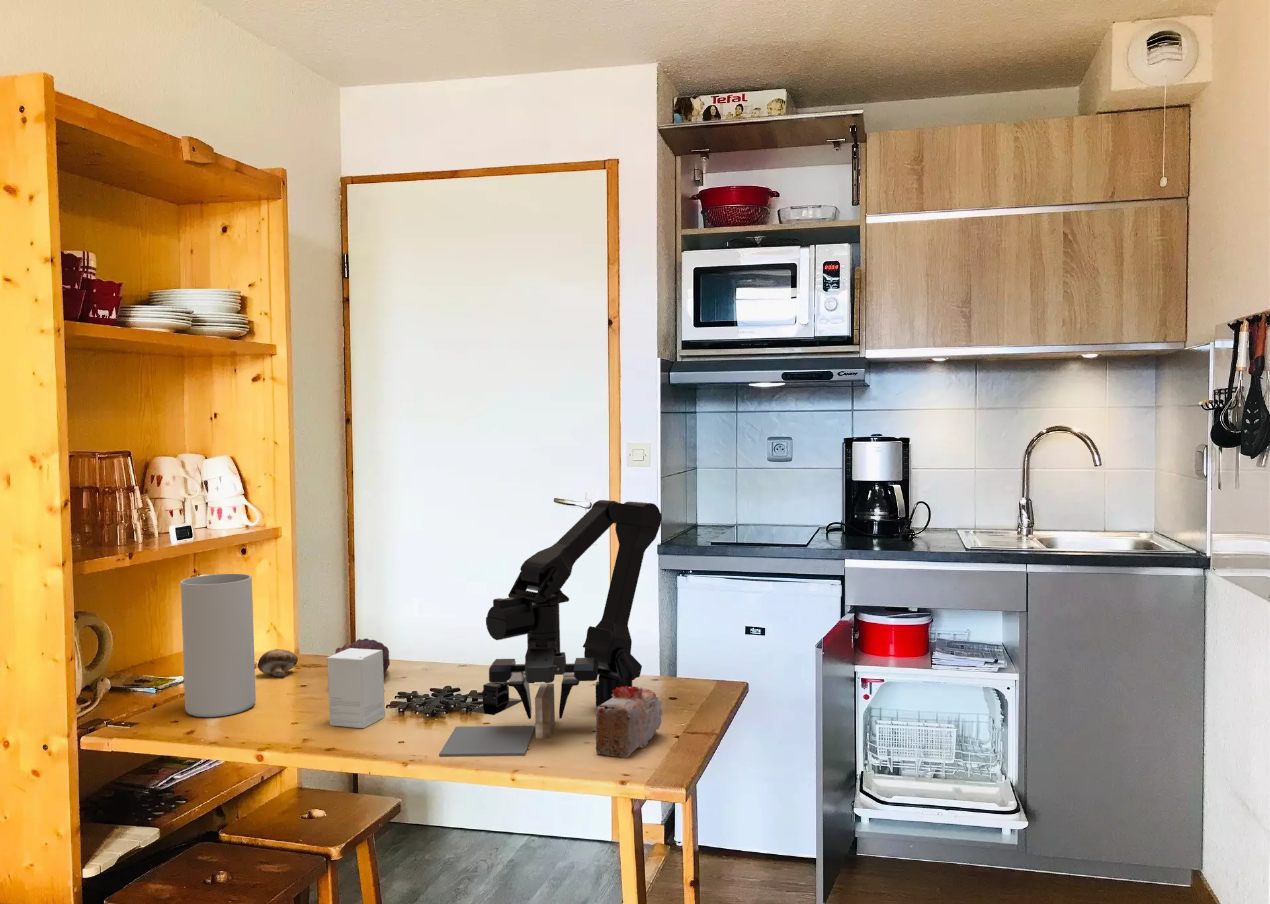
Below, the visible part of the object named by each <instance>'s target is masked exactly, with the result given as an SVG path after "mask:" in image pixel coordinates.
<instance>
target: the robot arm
mask: <svg viewBox="0 0 1270 904" xmlns="http://www.w3.org/2000/svg"><path fill="white" fill-rule="evenodd" d="M662 515H663V514H662V513H661V511H660V509H659V507H658V506H657V505H656V504H655V503H652V502H643V501H642V502H639V501H625V502H624V503H620V502H618V501H616V500H609V499H608V500H606V499H599V500H597V501H595V502H594V503H593V504H592V506H591V508H590V509H589V510H588V511H587V512H586V513H584V515H583V516H582V517H581V518H580V519H579V520H578V521H577V522H576V523H575V524H574V525H573V526H572V527H571V528H570V529H569V530H568V531H567V532H566V533H565V534H564V535H562V537H561V538H559V540H558V541H556V542H555V543H553V545H551V546H549V547H547V548H544V549H542V550H539V551H537V552H536V553H535V554H533V555H531V556H530V557H529V558H526V560H525V561H523V563H522V564H521V566H520V569H519V571H520V572H519V574H518V576H517V578H516V579H515V582H514V584H513V586H512V587H511V589H510V591H509V593H508V595H507V596H508V597H506V598H501V597H499V598H498V597H497V598H494V599H493V600H492V604H493V605H492V606H491V607H490V608H489V610H488V612H487V615H486V618H485V626H486V629H487V632H488V633H489V635H490V637H491V638H492V639H493V640H496V641H501V640H505V639H511V638H515V637H521V636H525V635H527V641H526V642H527V644H526V645H527V648H526V649H527V650H526V652H525V656H524V658H525V660H524V661H525V662H524V663H519V664H517V663H516V658H496V659H494V661H493V662H492V663H491V665H490V667H488V668H489V669H488V683H489V682H508V686H509V687H512V688H514V689H515V691H516V692H517V694H518V696H519V699H521V700H522V702H521V703H522V705H523V708H524V710H525V713H526V716H527V719H528V720H531V719H532V714H533V713H532V711H533V709H532V699H531V690H530V684H534V683H544V684H552V683H553V682H554V681H555V676H557V675H558V676H559V675H560V676H561V675H562V677H563V678H562V680H561V689H560V698H559V708H558V713H559V714H558V716H559V717H558V718H559V719H562V718H563V715H564V711H565V707H566V705H567V701H568V697H569V695H570V694H571V693H570V692H571V691H572V688H573V687H574V686H575V687H577V686H578V685H579V684H580V682H595V681H596V682H595V707H596V708H597V707H598V706H600V705H601V704H603V703H605V702H606V701H608V700H610V699H611V698H612V694H613V693H612V690H614V689H616V687H618V688H619V687H625V686H629V687H634V685H633V684H634V683H633V681H635V680H636V679H638V678H640V676H641V674H642V673H641V672H642V668H643V666H642V664H641V663H640V662H639V660H637V659H636V658H635V656H633V655H632V654H631V653H632V644H633V642H632V641H633V640H632V637H631V633H630V630H629V621H630V616H631V612H632V608H633V602H634V599H635V595H636V589H637V585H638V581H639V577H640V573H641V569H642V563H643V560H644V556H645V551H646V550H647V549H648V548H649V547H650V546H651V544H652V543H653V542H654V541H655V539H656V538H657V535H658V532H659V529H660V527H661V524H662V519H663V518H662ZM613 524H615V534H616V536H617V537H616V538H617V541H618V550H617V553H616V558H615V562H614V567H613V571H612V576H611V579H610V583H609V588H608V592H607V596H606V600H605V605H604V610H603V614H602V617H601V619H600V621H599V622H598V624H596V626H591V625H590V626H588V629H587V631H586V639H585V641H584V644H583V646H582V647H583V649H584V653H583V655H584V657H576V658H575V660H574V663H567V658H566V652H564V651H562V652H561V630H560V629H561V628H560V627H561V626H560V625H561V621H560V620H561V619H560V604H563V603H567V602H569V601H570V598H569V596H568V595H566V594H564V593H563V591H562V588H563V587H564V586H565V584H566V582H567V581H568V579H569V578H570V577H571V575H572V572H573V571H572V570H573V566H574V564H575V563H576V562H577V561H578V559H580V557H582V555H584V553H586V551H588V549H589V548H590V547H591V546H593V544H594V543H595V542H596V541H597V540H599V538H600V537H602V535H603V534H605V533H606V531H607V530H608V529H609V528H610V527H611V526H612V525H613ZM597 680H598V681H597Z"/></svg>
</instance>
